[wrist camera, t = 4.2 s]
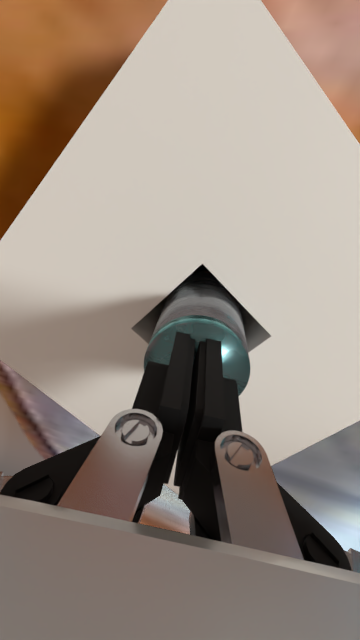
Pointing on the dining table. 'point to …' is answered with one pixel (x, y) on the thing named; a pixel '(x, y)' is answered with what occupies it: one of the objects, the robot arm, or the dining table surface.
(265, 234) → the block
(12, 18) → the dining table surface
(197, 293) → the peg
